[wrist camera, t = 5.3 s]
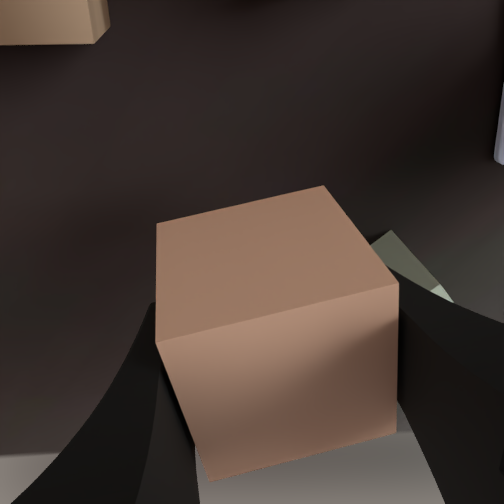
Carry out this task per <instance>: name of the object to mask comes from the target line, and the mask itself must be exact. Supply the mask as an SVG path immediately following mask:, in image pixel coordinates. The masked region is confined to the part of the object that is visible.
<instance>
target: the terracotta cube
mask: <svg viewBox="0 0 504 504" xmlns="http://www.w3.org/2000/svg"><path fill="white" fill-rule="evenodd" d="M398 311H399V282H398V281H397V280H396V278H395V277H394V276H393V275H392V273H391V272H390V271H389V269H388V268H387V267H386V266H385V264H384V263H383V262H382V260H381V259H380V258H379V256H378V255H377V254H376V253H375V251H374V250H373V249H372V247H371V246H370V245H369V243H368V242H367V241H366V240H365V238H364V237H363V236H362V234H361V233H360V232H359V231H358V229H357V228H356V227H355V225H354V224H353V223H352V221H351V220H350V219H349V218H348V216H347V215H346V214H345V212H344V211H343V210H342V208H341V207H340V206H339V205H338V203H337V202H336V201H335V199H334V198H333V197H332V196H331V194H330V193H329V192H328V190H327V189H326V188H325V186H324V185H323V186H318V187H314V188H310V189H305V190H301V191H297V192H292V193H288V194H284V195H279V196H275V197H270V198H266V199H262V200H257V201H253V202H249V203H244V204H240V205H236V206H231V207H227V208H222V209H218V210H214V211H209V212H205V213H201V214H196V215H192V216H188V217H183V218H179V219H175V220H170V221H166V222H161V223H157V244H156V336H155V343H156V345H157V348H158V351H159V353H160V356H161V358H162V361H163V363H164V366H165V368H166V371H167V374H168V376H169V379H170V381H171V384H172V386H173V389H174V392H175V394H176V397H177V399H178V402H179V404H180V407H181V410H182V412H183V415H184V417H185V420H186V422H187V425H188V427H189V430H190V433H191V435H192V438H193V440H194V443H195V445H196V448H197V451H198V453H199V456H200V458H201V461H202V463H203V466H204V469H205V471H206V474H207V476H208V479H209V481H210V482H213V481H217V480H221V479H224V478H228V477H232V476H236V475H240V474H243V473H247V472H251V471H255V470H258V469H262V468H266V467H270V466H273V465H277V464H281V463H284V462H288V461H292V460H296V459H300V458H304V457H308V456H311V455H315V454H319V453H323V452H326V451H330V450H334V449H338V448H341V447H345V446H349V445H353V444H357V443H360V442H364V441H368V440H372V439H376V438H379V437H383V436H387V435H391V434H395V433H396V419H397V365H398Z"/></svg>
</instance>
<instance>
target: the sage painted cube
mask: <svg viewBox="0 0 504 504" xmlns="http://www.w3.org/2000/svg"><path fill="white" fill-rule="evenodd" d="M370 246H371V247H372V249H373V250H374V251H375V253H376V254H377V255H378V256H379V258H380V259H381V260H382V262H383V263H384V264H385V265H386V266H388V267H390V268H391V269H393V270H394V271H396V272H398V273H399V274H401V275H403V276H404V277H406V278H408V279H409V280H411V281H413V282H414V283H416V284H418V285H420V286H422V287H423V288H425V289H427V290H429V291H431V292H433V293H435V294H437V295H439V296H440V297H442V298H444V299H446V300H448V301H450V302H452V303H454V302H453V301H452V299H451V298H450V297H449V295H448V294H447V293H446V291H445V290H444V289H443V287H442V286H441V285H440V283H439V282H438V281H437V280H436V279H435V278H434V277H433V276H432V275H431V273H430V272H429V271H428V270H427V269H426V268H425V267H424V266H423V265H422V263H421V262H420V261H419V260H418V259H417V258H416V257H415V256H414V255H413V253H412V252H411V251H410V250H409V249H408V248H407V247H406V246H405V245H404V244H403V242H402V241H401V240H400V239H399V238H398V237H397V236H396V235H395V234H394V232H393V231H392V230H390V231H389V232H387V233H386V234H385V235H383V236H382V237H381V238H379V239H378V240H377V241H375V242H374V243H373V244H371V245H370Z"/></svg>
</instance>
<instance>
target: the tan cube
mask: <svg viewBox="0 0 504 504" xmlns="http://www.w3.org/2000/svg"><path fill="white" fill-rule="evenodd" d="M110 26H111V25H110V18H109V11H108V4H107V0H0V45H47V44H94V43H95V42H96V41H97V40H98V39H99V38H100V37H101V36H102V35H103V34H104V33H105V32H106V31H107V30H108V29H109V28H110Z"/></svg>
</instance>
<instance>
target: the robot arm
mask: <svg viewBox="0 0 504 504" xmlns="http://www.w3.org/2000/svg"><path fill="white" fill-rule="evenodd" d="M494 159H495V161H496V162H498V163H500V164H502V165H504V84H503V92H502V99H501V106H500V114H499V121H498V128H497V136H496V143H495V150H494ZM385 266H386V265H385ZM386 267H387V268H388V269H389V271H390V272H391V273H392V275H393V276H394V277H395V278H396V280H397V281H398V282H399V311H398V365H397V401H398V402H399V404H400V406H401V408H402V410H403V412H404V413H405V415H406V418H407V420H408V422H409V424H410V426H411V428H412V430H413V432H414V434H415V437H416V439H417V441H418V443H419V445H420V447H421V449H422V452H423V454H424V456H425V458H426V460H427V463H428V465H429V467H430V469H431V472H432V474H433V476H434V478H435V481H436V483H437V485H438V488H439V490H440V492H441V495H442V497H443V499H444V502H445V504H504V323H501V322H498V321H496V320H493V319H490V318H488V317H485V316H483V315H480V314H478V313H475V312H473V311H471V310H468V309H466V308H463V307H461V306H459V305H457V304H455V303H452V302H450V301H448V300H446V299H444V298H442V297H440V296H439V295H437V294H435V293H433V292H431V291H429V290H427V289H425V288H423V287H422V286H420V285H418V284H416V283H414V282H413V281H411V280H409V279H408V278H406V277H404V276H403V275H401V274H399V273H398V272H396V271H394V270H393V269H391V268H390V267H388V266H386ZM155 336H156V302H153V303H151V304H150V306H149V307H148V310H147V313H146V315H145V318H144V320H143V322H142V325H141V327H140V329H139V332H138V334H137V336H136V338H135V340H134V342H133V344H132V346H131V348H130V351H129V353H128V355H127V357H126V359H125V361H124V362H123V364H122V366H121V368H120V370H119V371H118V373H117V375H116V377H115V378H114V380H113V382H112V384H111V385H110V387H109V389H108V390H107V392H106V393H105V395H104V396H103V398H102V400H101V401H100V403H99V404H98V405H97V407H96V408H95V410H94V411H93V413H92V414H91V415H90V417H89V418H88V419H87V421H86V422H85V423H84V425H83V426H82V427H81V429H80V430H79V431H78V432H77V434H76V435H75V436H74V437H73V439H72V440H71V441H70V442H69V444H68V445H67V446H66V447H65V448H64V450H63V451H62V452H61V453H60V454H59V455H58V457H56V459H55V460H54V461H53V462H52V463H51V464H50V465H49V466H48V467H47V468H46V470H44V472H43V473H42V474H41V475H40V476H39V477H38V478H37V479H36V480H35V481H34V482H33V483H32V484H31V485H30V486H29V487H28V488H27V489H26V490H25V491H24V492H23V493H21V495H19V496H18V497H17V498H16V499H15V500H14V501H13V502H12V503H11V504H200V500H199V491H198V483H197V474H196V461H195V443H194V440H193V438H192V435H191V433H190V430H189V427H188V425H187V422H186V420H185V417H184V415H183V412H182V410H181V407H180V404H179V402H178V399H177V397H176V394H175V392H174V389H173V386H172V384H171V381H170V379H169V376H168V374H167V371H166V368H165V366H164V363H163V361H162V358H161V356H160V353H159V351H158V348H157V345H156V343H155Z"/></svg>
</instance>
